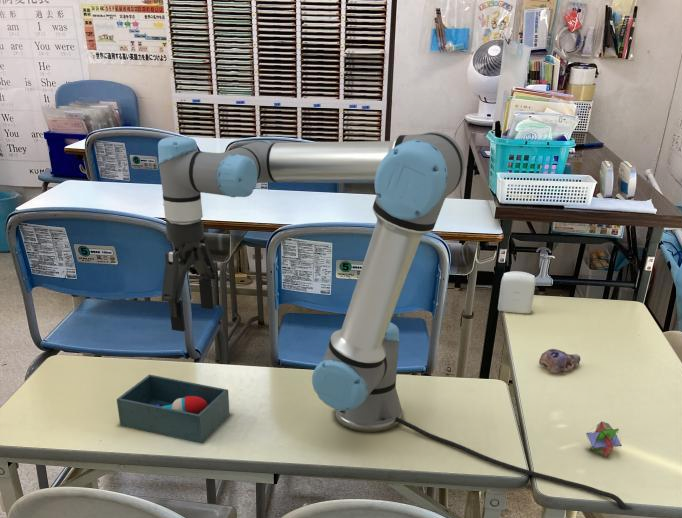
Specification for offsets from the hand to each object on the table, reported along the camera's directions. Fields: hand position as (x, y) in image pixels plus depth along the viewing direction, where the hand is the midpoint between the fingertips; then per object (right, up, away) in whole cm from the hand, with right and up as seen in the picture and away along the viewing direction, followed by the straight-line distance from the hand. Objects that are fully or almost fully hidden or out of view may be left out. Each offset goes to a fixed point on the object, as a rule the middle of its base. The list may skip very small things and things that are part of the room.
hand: (193, 319), depth 166 cm
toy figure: (-6, -21, +7) cm, 23 cm away
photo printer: (+85, +15, +70) cm, 112 cm away
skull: (+90, -7, +36) cm, 97 cm away
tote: (-5, -22, +7) cm, 23 cm away
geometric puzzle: (+89, -29, 0) cm, 93 cm away
